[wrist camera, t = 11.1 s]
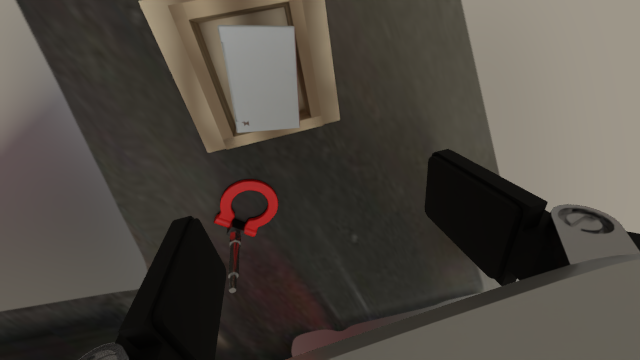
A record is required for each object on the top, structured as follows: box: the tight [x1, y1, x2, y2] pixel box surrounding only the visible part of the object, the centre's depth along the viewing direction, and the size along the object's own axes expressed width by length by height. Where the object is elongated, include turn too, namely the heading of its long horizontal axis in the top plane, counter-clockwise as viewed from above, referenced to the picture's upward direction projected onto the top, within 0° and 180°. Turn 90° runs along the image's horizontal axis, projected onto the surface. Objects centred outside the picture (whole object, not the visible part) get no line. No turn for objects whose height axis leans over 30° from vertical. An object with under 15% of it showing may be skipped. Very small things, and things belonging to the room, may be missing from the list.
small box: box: [217, 25, 300, 133], centre depth 23 cm, size 8×6×10 cm
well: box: [138, 0, 340, 153], centre depth 26 cm, size 18×16×5 cm
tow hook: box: [214, 179, 278, 293], centre depth 32 cm, size 8×13×9 cm
